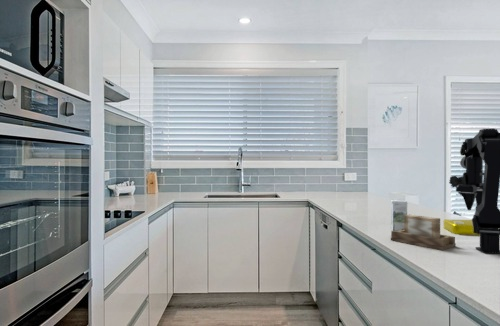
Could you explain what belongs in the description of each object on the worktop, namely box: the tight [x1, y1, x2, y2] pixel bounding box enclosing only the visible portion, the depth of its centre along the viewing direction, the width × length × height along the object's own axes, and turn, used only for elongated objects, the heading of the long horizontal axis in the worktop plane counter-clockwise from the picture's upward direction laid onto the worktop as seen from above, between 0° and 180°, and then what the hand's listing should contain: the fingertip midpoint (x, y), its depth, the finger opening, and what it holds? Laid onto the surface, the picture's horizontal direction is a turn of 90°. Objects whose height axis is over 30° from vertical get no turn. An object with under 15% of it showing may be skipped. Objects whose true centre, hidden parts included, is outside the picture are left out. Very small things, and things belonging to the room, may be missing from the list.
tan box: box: [405, 214, 441, 238], centre depth 136 cm, size 12×4×9 cm, turn 37°
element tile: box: [443, 218, 480, 236], centre depth 158 cm, size 15×15×5 cm
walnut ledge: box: [390, 229, 457, 251], centre depth 136 cm, size 20×10×4 cm, turn 37°
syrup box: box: [390, 199, 408, 232], centre depth 153 cm, size 6×6×14 cm
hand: (474, 208), depth 143 cm, fingers open, 9 cm apart
